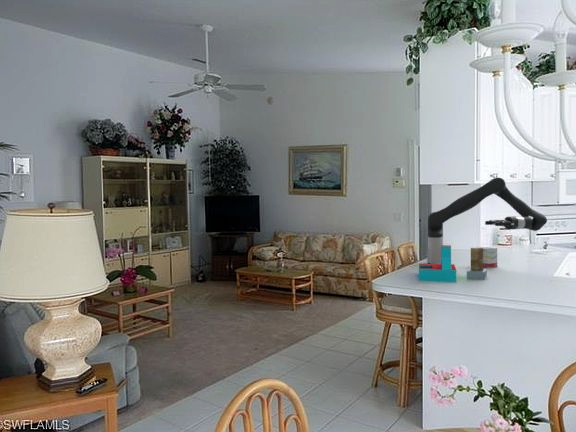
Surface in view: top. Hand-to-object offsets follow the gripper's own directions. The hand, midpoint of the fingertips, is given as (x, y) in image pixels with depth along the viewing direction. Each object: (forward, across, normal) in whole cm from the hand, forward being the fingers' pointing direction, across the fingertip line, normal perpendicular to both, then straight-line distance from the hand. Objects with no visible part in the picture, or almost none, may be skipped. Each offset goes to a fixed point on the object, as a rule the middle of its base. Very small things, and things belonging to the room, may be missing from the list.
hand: (490, 223), depth 270 cm
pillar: (+17, +11, +24) cm, 32 cm away
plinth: (+17, +11, +28) cm, 35 cm away
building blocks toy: (+36, +2, +29) cm, 46 cm away
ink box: (-12, -17, +28) cm, 35 cm away
